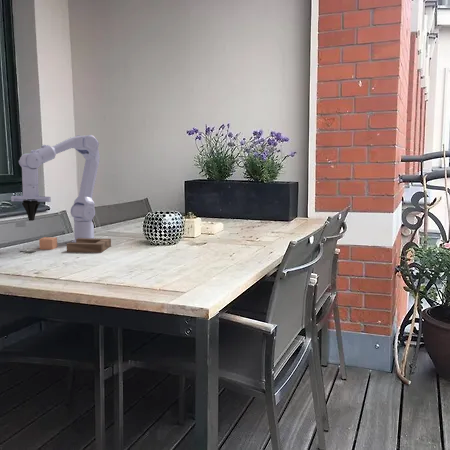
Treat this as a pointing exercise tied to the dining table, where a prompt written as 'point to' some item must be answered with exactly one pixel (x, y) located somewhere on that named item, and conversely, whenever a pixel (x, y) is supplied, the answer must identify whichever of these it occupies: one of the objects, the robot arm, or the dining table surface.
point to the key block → (48, 243)
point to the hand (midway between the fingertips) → (31, 220)
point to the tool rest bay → (89, 245)
